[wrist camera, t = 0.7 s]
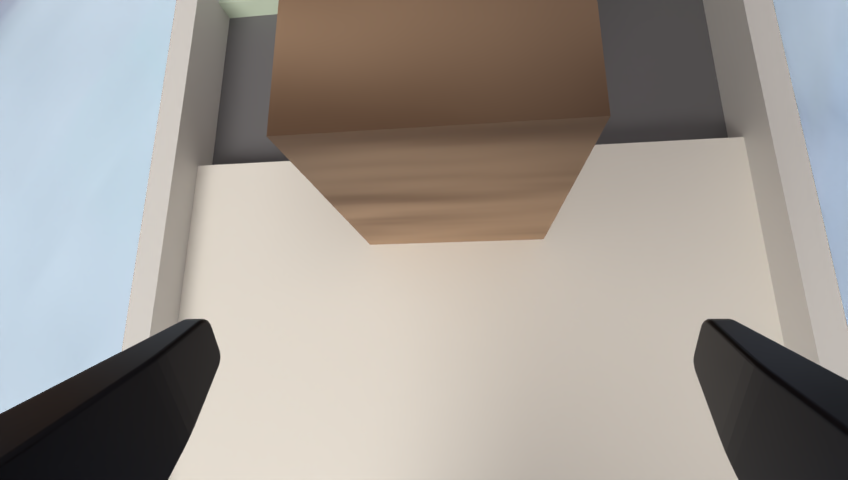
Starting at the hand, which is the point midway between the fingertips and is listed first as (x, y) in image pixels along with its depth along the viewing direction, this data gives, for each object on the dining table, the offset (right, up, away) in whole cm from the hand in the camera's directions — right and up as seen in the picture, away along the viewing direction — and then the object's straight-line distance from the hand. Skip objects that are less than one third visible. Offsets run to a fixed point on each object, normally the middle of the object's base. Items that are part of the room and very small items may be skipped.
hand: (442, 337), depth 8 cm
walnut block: (+1, +6, +14) cm, 15 cm away
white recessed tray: (+1, +6, +15) cm, 17 cm away
